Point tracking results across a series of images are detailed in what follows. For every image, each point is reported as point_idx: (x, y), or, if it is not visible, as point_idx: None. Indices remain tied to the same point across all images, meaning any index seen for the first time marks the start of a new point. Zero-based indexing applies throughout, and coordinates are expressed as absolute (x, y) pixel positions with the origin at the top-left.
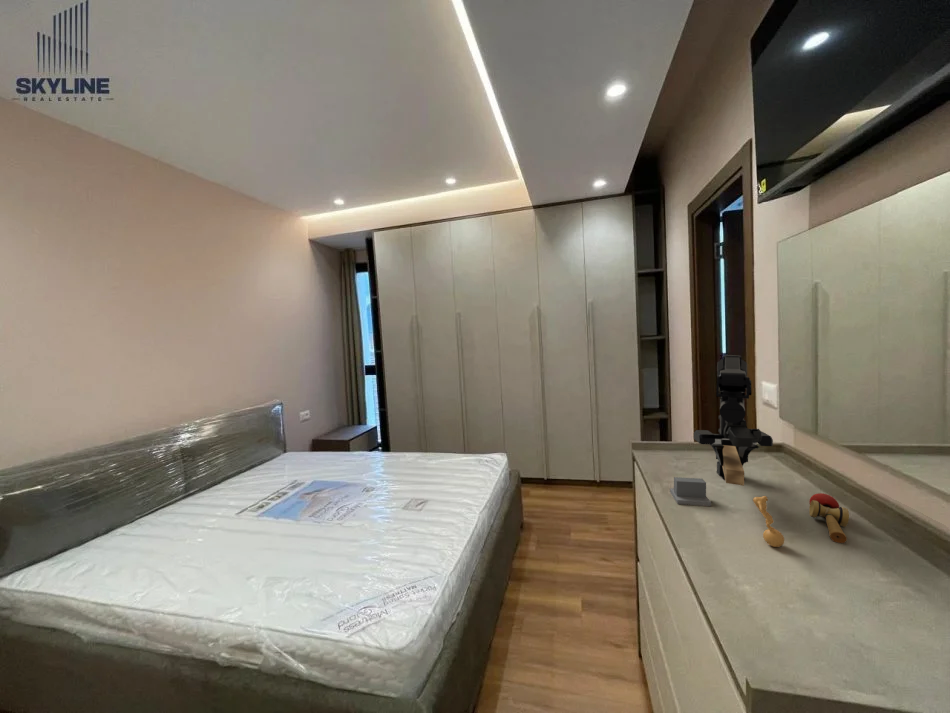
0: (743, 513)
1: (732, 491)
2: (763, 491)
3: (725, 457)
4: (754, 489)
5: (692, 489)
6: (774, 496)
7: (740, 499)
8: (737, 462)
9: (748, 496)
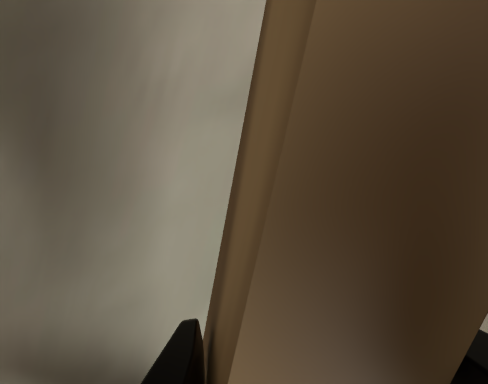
0: (221, 63)
1: (205, 291)
2: (74, 328)
3: (426, 378)
4: (108, 336)
5: None
6: (37, 292)
7: (193, 220)
8: (339, 190)
9: (150, 261)
